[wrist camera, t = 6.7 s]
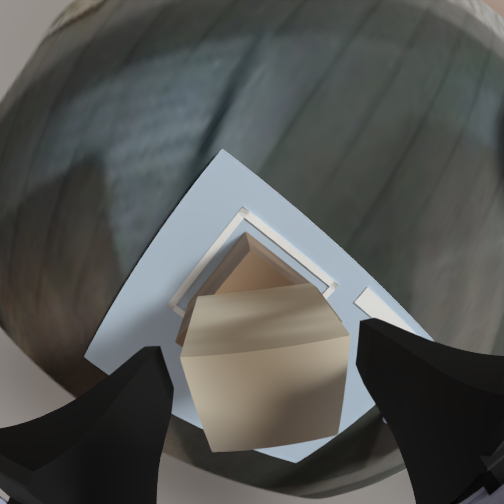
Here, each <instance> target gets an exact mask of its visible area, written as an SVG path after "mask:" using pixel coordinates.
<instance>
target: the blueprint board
mask: <svg viewBox="0 0 504 504" xmlns="http://www.w3.org/2000/svg"><path fill="white" fill-rule="evenodd" d="M245 232H247V233H249V234H250V235H251V236H253V237H254V238H255V239H256V240H258V241H259V242H260V243H261V244H263V245H264V246H265V247H267V248H268V249H269V250H270V251H272V252H273V253H274V254H275V255H277V256H278V257H279V258H280V259H282V260H283V261H284V262H285V263H287V264H288V265H289V266H291V267H292V268H293V269H294V270H296V271H297V272H298V273H299V274H301V275H302V276H303V277H304V278H306V279H307V280H308V281H309V282H311V283H312V284H313V285H314V286H316V287H317V288H318V290H319V291H320V292H321V294H322V295H323V296H324V297H325V299H326V300H327V301H328V303H329V304H330V305H331V307H332V308H333V310H334V311H335V312H336V314H337V315H338V316H339V318H340V319H341V320H342V322H341V323H342V324H343V326H344V327H345V328H346V330H347V331H348V333H349V334H350V347H349V358H348V368H347V377H346V385H345V393H344V400H343V407H342V413H341V420H340V426H339V431H338V434H340V433H341V432H342V431H344V430H345V429H346V428H347V427H349V426H350V425H351V424H352V423H354V422H355V421H356V420H357V419H359V418H360V417H361V416H362V415H363V414H365V413H366V412H367V411H368V410H369V409H371V408H372V407H373V406H374V405H375V402H374V401H373V399H372V397H371V396H370V394H369V392H368V391H367V389H366V387H365V386H364V384H363V381H362V379H361V377H360V374H359V372H358V369H357V367H356V356H357V346H358V336H359V324H360V321H361V320H365V319H370V318H377V319H380V320H383V321H385V322H388V323H390V324H393V325H395V326H397V327H400V328H402V329H404V330H406V331H409V332H411V333H414V334H416V335H418V336H421V337H423V338H426V339H429V340H431V341H434V340H433V339H432V338H431V337H430V336H429V335H428V334H427V333H426V332H425V331H424V329H423V328H422V327H421V326H420V325H419V324H418V323H417V322H416V321H415V320H414V319H413V318H412V317H411V316H410V315H409V314H408V313H407V312H406V311H405V310H404V308H403V307H402V306H401V305H400V304H399V303H398V302H397V301H396V300H395V299H394V298H393V297H392V296H391V295H390V294H389V293H388V292H387V291H386V290H385V289H384V288H383V287H382V286H381V285H380V284H379V283H378V282H377V281H376V280H374V279H373V278H372V277H371V276H370V275H369V274H368V273H367V272H366V271H365V270H364V269H363V268H362V267H361V266H360V265H359V264H358V263H357V262H356V261H355V260H354V259H352V258H351V257H350V256H349V255H348V254H347V253H346V252H345V251H344V250H343V249H342V248H341V247H339V246H338V245H337V244H336V243H335V242H334V241H333V240H332V239H331V238H330V237H328V236H327V235H326V234H325V233H324V232H323V231H322V230H321V229H320V228H318V227H317V226H316V225H315V224H314V223H313V222H312V221H310V220H309V219H308V218H307V217H306V216H305V215H303V214H302V213H301V212H300V211H299V210H298V209H297V208H295V207H294V206H293V205H292V204H291V203H289V202H288V201H287V200H286V199H285V198H283V197H282V196H281V195H280V194H279V193H277V192H276V191H275V190H274V189H273V188H271V187H270V186H269V185H268V184H267V183H265V182H264V181H263V180H262V179H260V178H259V177H258V176H257V175H255V174H254V173H253V172H252V171H250V170H249V169H248V168H247V167H245V166H244V165H243V164H241V163H240V162H239V161H238V160H236V159H235V158H234V157H232V156H231V155H230V154H229V153H227V152H226V151H225V150H223V149H222V150H221V151H220V152H219V153H218V154H217V156H216V157H215V158H214V159H213V160H212V162H211V163H210V164H209V165H208V167H207V168H206V169H205V170H204V172H203V173H202V174H201V176H200V177H199V178H198V179H197V181H196V182H195V183H194V185H193V186H192V187H191V189H190V190H189V191H188V193H187V194H186V195H185V196H184V198H183V199H182V201H181V202H180V203H179V205H178V206H177V207H176V209H175V210H174V211H173V213H172V214H171V216H170V217H169V218H168V220H167V221H166V223H165V224H164V225H163V227H162V228H161V230H160V231H159V233H158V234H157V236H156V237H155V238H154V240H153V241H152V243H151V244H150V246H149V247H148V249H147V250H146V252H145V253H144V255H143V256H142V258H141V259H140V261H139V262H138V264H137V266H136V267H135V269H134V270H133V272H132V273H131V275H130V277H129V278H128V280H127V281H126V283H125V285H124V286H123V288H122V290H121V291H120V293H119V295H118V296H117V298H116V300H115V301H114V303H113V305H112V306H111V308H110V310H109V311H108V313H107V315H106V317H105V318H104V320H103V322H102V324H101V326H100V327H99V329H98V331H97V333H96V335H95V337H94V338H93V340H92V342H91V344H90V346H89V348H88V350H87V352H86V354H85V356H84V357H85V358H86V359H87V360H89V361H90V362H91V363H93V364H94V365H95V366H97V367H98V368H99V369H101V370H102V371H104V372H105V373H106V374H108V375H110V374H111V373H113V372H114V371H115V370H116V369H117V368H119V367H120V366H121V365H122V364H123V363H125V362H126V361H127V360H128V359H129V358H131V357H132V356H133V355H134V354H135V353H137V352H138V351H139V350H140V349H142V348H143V347H145V346H160V347H161V350H162V353H163V356H164V360H165V363H166V366H167V369H168V372H169V375H170V378H171V380H172V383H173V386H174V395H173V405H172V412H171V413H172V414H173V415H175V416H177V417H179V418H181V419H183V420H185V421H187V422H189V423H191V424H193V425H195V426H197V427H200V428H202V429H203V426H202V424H201V421H200V418H199V415H198V413H197V410H196V407H195V404H194V401H193V398H192V395H191V392H190V389H189V386H188V383H187V379H186V376H185V373H184V370H183V366H182V363H181V359H180V355H181V352H182V348H183V347H181V346H180V345H178V344H177V343H175V341H176V338H177V335H178V332H179V329H180V326H181V323H182V320H183V317H184V315H185V312H186V309H187V306H188V303H189V302H190V301H191V299H192V298H193V297H194V296H195V294H196V293H197V292H198V291H199V289H200V288H201V287H202V285H203V284H204V283H205V282H206V280H207V279H208V278H209V277H210V275H211V274H212V273H213V272H214V270H215V269H216V268H217V267H218V265H219V264H220V263H221V262H222V260H223V259H224V258H225V257H226V255H227V254H228V253H229V252H230V250H231V249H232V248H233V247H234V245H235V244H236V243H237V242H238V240H239V239H240V238H241V237H242V235H243V234H244V233H245ZM434 342H435V341H434ZM336 436H337V435H335V436H331V437H327V438H322V439H318V440H313V441H308V442H303V443H297V444H291V445H285V446H278V447H271V448H263V449H253V450H256V451H259V452H262V453H265V454H268V455H271V456H274V457H277V458H280V459H284V460H287V461H291V462H294V463H297V462H299V461H300V460H302V459H303V458H305V457H307V456H308V455H310V454H311V453H313V452H314V451H316V450H317V449H319V448H320V447H322V446H323V445H324V444H326V443H327V442H329V441H330V440H331V439H333V438H334V437H336Z"/></svg>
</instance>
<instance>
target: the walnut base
mask: <svg viewBox="0 0 504 504" xmlns="http://www.w3.org/2000/svg"><path fill="white" fill-rule="evenodd" d="M306 283H311V282H309V281H308V280H307V279H306V278H304V277H303V276H302V275H301V274H299V273H298V272H297V271H296V270H294V269H293V268H292V267H291V266H289V265H288V264H287V263H285V262H284V261H283V260H282V259H280V258H279V257H278V256H277V255H275V254H274V253H273V252H272V251H270V250H269V249H268V248H267V247H265V246H264V245H263V244H261V243H260V242H259V241H258V240H256V239H255V238H254V237H253V236H251V235H250V234H249V233H247V232H245V233H244V234H243V235H242V237H241V238H240V239H239V240H238V242H237V243H236V244H235V245H234V247H233V248H232V249H231V250H230V252H229V253H228V254H227V255H226V257H225V258H224V259H223V260H222V262H221V263H220V264H219V265H218V267H217V268H216V269H215V270H214V272H213V273H212V274H211V275H210V277H209V278H208V279H207V280H206V282H205V283H204V284H203V285H202V287H201V288H200V289H199V291H198V292H197V293H196V294H195V296H194V297H193V298H192V299H191V301H190V302H189V303H188V306H187V309H186V312H185V315H184V317H183V320H182V323H181V326H180V329H179V332H178V335H177V338H176V341H175V343H177V344H178V345H180V346H181V347H183V345H184V341H185V338H186V334H187V331H188V327H189V324H190V320H191V317H192V314H193V310H194V307H195V304H196V300H197V297H198V296H206V295H216V294H225V293H234V292H243V291H252V290H260V289H268V288H276V287H284V286H291V285H299V284H306ZM315 288H316V289H317V290H318V288H317V287H316V286H315ZM318 292H319V293H320V294H321V292H320V291H319V290H318ZM321 296H322V297H323V298H324V300H325V301H326V302H327V304H328V305H329V306H330V308H331V309H332V311H333V312H334V313H335V315H336V316H337V317H338V319H339V320H340V321H341V322H342V320H341V319H340V318H339V316H338V315H337V314H336V312H335V311H334V310H333V308H332V307H331V305H330V304H329V303H328V301H327V300H326V299H325V297H324V296H323V295H322V294H321Z"/></svg>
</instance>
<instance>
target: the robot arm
mask: <svg viewBox="0 0 504 504" xmlns="http://www.w3.org/2000/svg"><path fill="white" fill-rule="evenodd" d="M356 367H357V369H358V372H359V374H360V377H361V379H362V381H363V384H364V386H365V387H366V389H367V391H368V392H369V394H370V396H371V397H372V399H373V401H374V402H375V404H376V406H377V407H378V409H379V411H380V412H381V414H382V415H383V421H384V423H387V424H388V425H389V427H390V429H391V431H392V433H393V435H394V437H395V440H396V442H397V444H398V447H399V449H400V452H401V454H402V457H403V460H404V462H405V465H406V468H407V471H408V474H409V477H410V480H411V484H412V488H413V491H414V496H415V500H416V504H504V356H495V355H487V354H479V353H474V352H469V351H464V350H460V349H456V348H452V347H449V346H446V345H443V344H440V343H437V342H434V341H431V340H429V339H426V338H423V337H421V336H418V335H416V334H414V333H411V332H409V331H406V330H404V329H402V328H400V327H397V326H395V325H393V324H390V323H388V322H385V321H383V320H380V319H377V318H370V319H365V320H361V321H360V324H359V336H358V346H357V356H356ZM173 395H174V386H173V383H172V380H171V378H170V375H169V372H168V369H167V366H166V363H165V360H164V356H163V353H162V350H161V347H160V346H145V347H143V348H142V349H140V350H139V351H138V352H137V353H135V354H134V355H133V356H132V357H131V358H129V359H128V360H127V361H126V362H125V363H123V364H122V365H121V366H120V367H119V368H117V369H116V370H115V371H114V372H113V373H111V374H110V375H109V376H108V377H106V378H105V379H104V380H102V381H101V382H100V383H98V384H97V385H96V386H94V387H93V388H92V389H90V390H89V391H88V392H86V393H85V394H83V395H82V396H80V397H79V398H77V399H75V400H73V401H72V402H70V403H68V404H67V405H65V406H63V407H61V408H59V409H57V410H55V411H53V412H50V413H48V414H46V415H44V416H42V417H39V418H36V419H34V420H31V421H28V422H25V423H21V424H18V425H14V426H11V427H5V428H0V488H1V489H2V490H3V491H4V492H5V493H6V494H7V495H9V496H10V498H9V501H8V502H7V501H6V500H5V499H3V498H2V497H0V504H156V502H157V499H156V498H157V481H158V469H159V463H160V457H161V453H162V449H163V445H164V441H165V437H166V433H167V429H168V425H169V420H170V416H171V412H172V405H173Z"/></svg>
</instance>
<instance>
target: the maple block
mask: <svg viewBox="0 0 504 504" xmlns="http://www.w3.org/2000/svg"><path fill="white" fill-rule="evenodd" d="M349 347H350V334H349V333H348V331H347V330H346V328H345V327H344V326H343V324H342V323H341V321H340V320H339V319H338V317H337V316H336V315H335V313H334V312H333V311H332V309H331V308H330V306H329V305H328V304H327V302H326V301H325V300H324V298H323V297H322V296H321V294H320V293H319V292H318V290H317V289H316V288H315V286H314V285H313V284H312V283H306V284H299V285H291V286H284V287H276V288H268V289H260V290H252V291H243V292H234V293H225V294H216V295H206V296H198V297H197V300H196V304H195V307H194V310H193V314H192V317H191V320H190V324H189V327H188V331H187V334H186V338H185V341H184V345H183V348H182V352H181V355H180V359H181V363H182V366H183V370H184V373H185V376H186V379H187V383H188V386H189V389H190V392H191V395H192V398H193V401H194V404H195V407H196V410H197V413H198V415H199V418H200V421H201V424H202V426H203V429H204V432H205V434H206V437H207V440H208V442H209V445H210V447H211V450H212V452H227V451H242V450H253V449H263V448H271V447H278V446H285V445H291V444H297V443H303V442H308V441H313V440H318V439H322V438H327V437H331V436H335V435H338V431H339V426H340V420H341V413H342V407H343V400H344V393H345V385H346V377H347V368H348V358H349Z"/></svg>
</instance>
